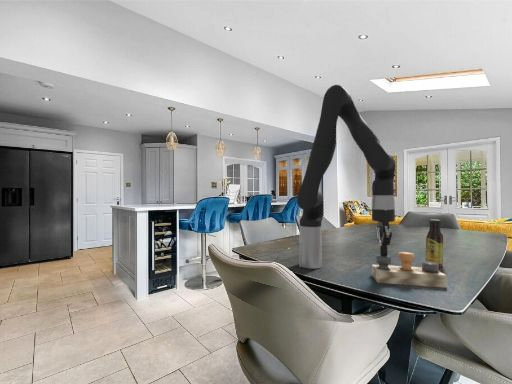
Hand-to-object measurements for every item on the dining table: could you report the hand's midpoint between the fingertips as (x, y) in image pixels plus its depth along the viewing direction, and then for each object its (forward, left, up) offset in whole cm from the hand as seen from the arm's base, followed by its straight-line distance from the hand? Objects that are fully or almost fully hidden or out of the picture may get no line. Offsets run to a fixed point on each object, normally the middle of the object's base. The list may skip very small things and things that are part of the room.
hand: (383, 255), depth 93 cm
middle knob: (+7, 0, -5) cm, 9 cm away
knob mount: (+7, 0, -8) cm, 11 cm away
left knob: (0, 0, -6) cm, 6 cm away
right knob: (+15, 0, -8) cm, 17 cm away
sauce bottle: (+26, +24, -9) cm, 36 cm away
